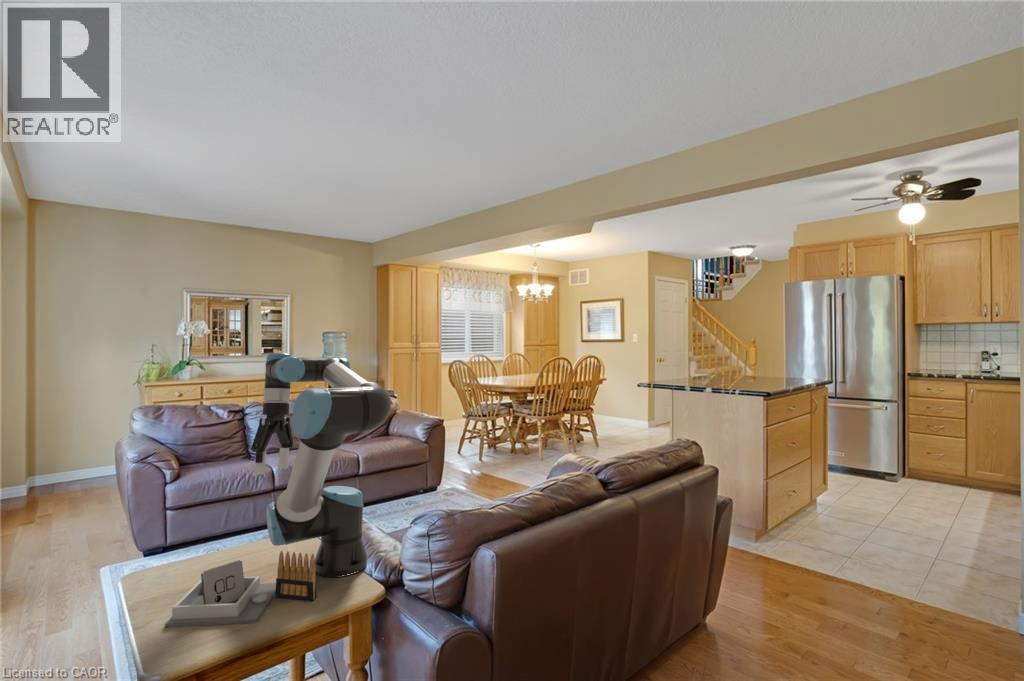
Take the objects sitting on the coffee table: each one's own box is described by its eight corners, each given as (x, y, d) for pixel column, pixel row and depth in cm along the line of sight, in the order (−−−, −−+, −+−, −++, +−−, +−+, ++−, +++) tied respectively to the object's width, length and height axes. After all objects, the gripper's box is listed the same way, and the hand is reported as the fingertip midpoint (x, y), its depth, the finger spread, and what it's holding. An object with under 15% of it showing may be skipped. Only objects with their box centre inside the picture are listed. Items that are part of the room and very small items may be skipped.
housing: (280, 585, 137) (280, 572, 137) (256, 622, 119) (256, 607, 119) (201, 589, 134) (201, 575, 134) (164, 627, 117) (165, 611, 117)
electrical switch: (206, 612, 122) (206, 573, 122) (197, 607, 125) (197, 569, 125) (246, 597, 129) (245, 560, 130) (236, 593, 132) (236, 557, 133)
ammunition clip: (316, 598, 131) (317, 552, 131) (312, 602, 129) (314, 555, 129) (279, 594, 133) (280, 549, 133) (274, 597, 131) (276, 551, 131)
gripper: (285, 402, 171) (280, 466, 168) (241, 401, 146) (235, 476, 143) (306, 402, 170) (302, 466, 168) (266, 401, 146) (261, 476, 143)
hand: (271, 471), depth 155 cm, fingers open, 13 cm apart
